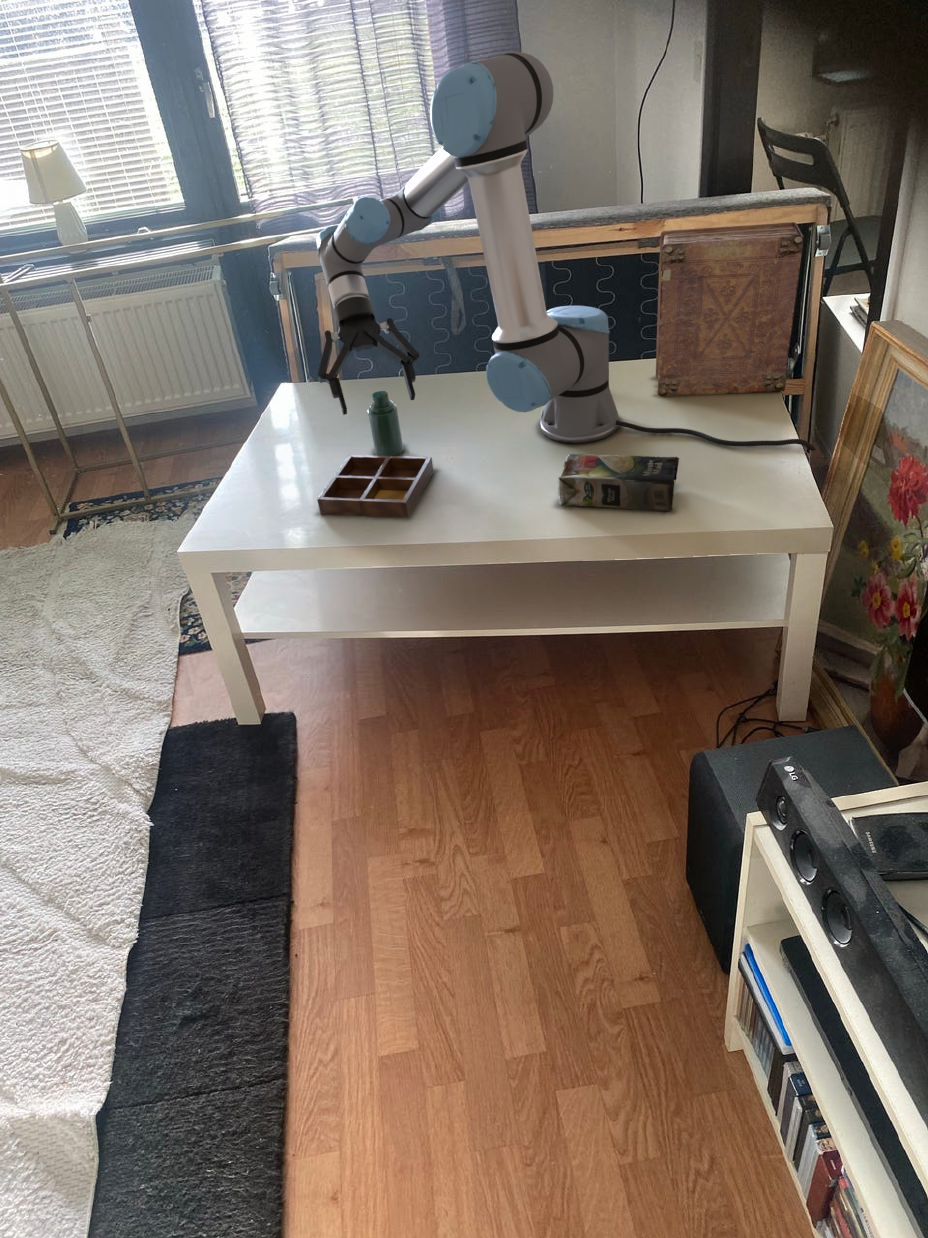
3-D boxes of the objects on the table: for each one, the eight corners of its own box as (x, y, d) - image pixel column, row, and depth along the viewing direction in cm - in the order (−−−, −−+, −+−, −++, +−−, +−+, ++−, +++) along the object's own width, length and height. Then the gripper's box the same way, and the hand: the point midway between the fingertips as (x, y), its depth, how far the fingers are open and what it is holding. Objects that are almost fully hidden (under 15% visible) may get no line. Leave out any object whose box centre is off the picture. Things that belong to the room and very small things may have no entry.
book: (656, 396, 186) (660, 244, 168) (655, 377, 193) (659, 230, 175) (785, 391, 182) (803, 235, 164) (779, 372, 189) (796, 221, 171)
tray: (433, 471, 170) (431, 456, 169) (408, 517, 158) (405, 502, 156) (351, 469, 175) (348, 454, 173) (320, 514, 162) (317, 499, 160)
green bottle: (406, 444, 181) (398, 388, 173) (398, 458, 176) (389, 400, 169) (380, 444, 182) (370, 387, 175) (371, 457, 178) (361, 400, 170)
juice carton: (552, 506, 156) (551, 474, 152) (563, 479, 163) (562, 448, 159) (671, 514, 150) (673, 481, 146) (677, 485, 157) (679, 453, 154)
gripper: (411, 302, 184) (439, 398, 182) (290, 326, 180) (317, 425, 178) (414, 282, 177) (442, 383, 174) (288, 307, 173) (315, 410, 170)
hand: (379, 404), depth 176 cm, fingers open, 13 cm apart
